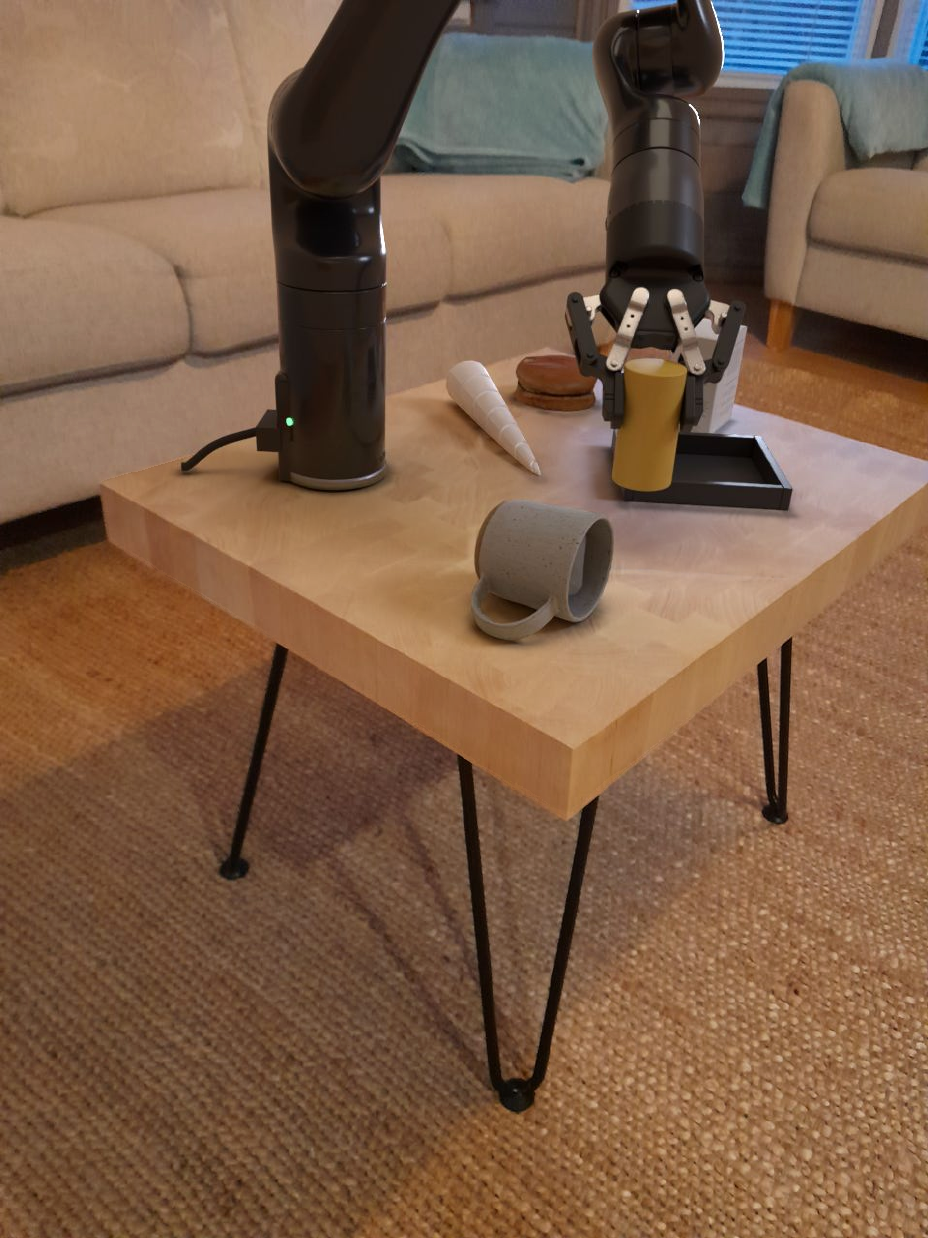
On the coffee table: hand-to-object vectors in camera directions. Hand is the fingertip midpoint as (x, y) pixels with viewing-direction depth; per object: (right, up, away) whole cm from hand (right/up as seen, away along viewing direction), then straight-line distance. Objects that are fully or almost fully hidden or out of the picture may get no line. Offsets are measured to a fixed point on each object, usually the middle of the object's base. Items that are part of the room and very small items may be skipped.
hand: (652, 425), depth 77 cm
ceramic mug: (-9, -14, -2) cm, 17 cm away
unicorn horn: (-10, +4, +30) cm, 32 cm away
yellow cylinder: (0, -4, +4) cm, 5 cm away
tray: (+8, -1, +21) cm, 22 cm away
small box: (+11, +6, +35) cm, 37 cm away
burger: (-4, +10, +40) cm, 42 cm away
